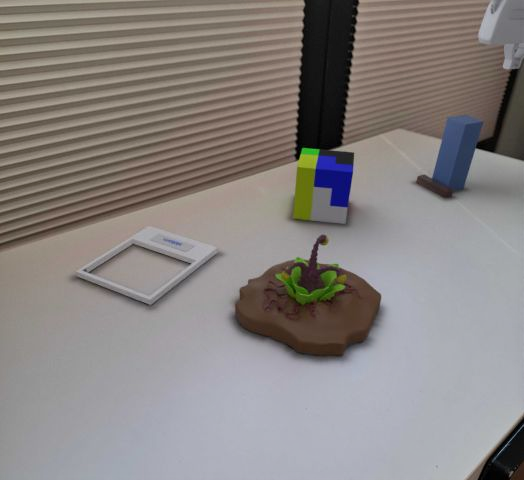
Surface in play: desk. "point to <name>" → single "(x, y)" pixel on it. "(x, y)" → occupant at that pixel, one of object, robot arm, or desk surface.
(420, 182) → the bar
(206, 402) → the desk surface
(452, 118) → the toy block
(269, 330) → the plant
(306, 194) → the puzzle toy
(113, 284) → the photo frame
